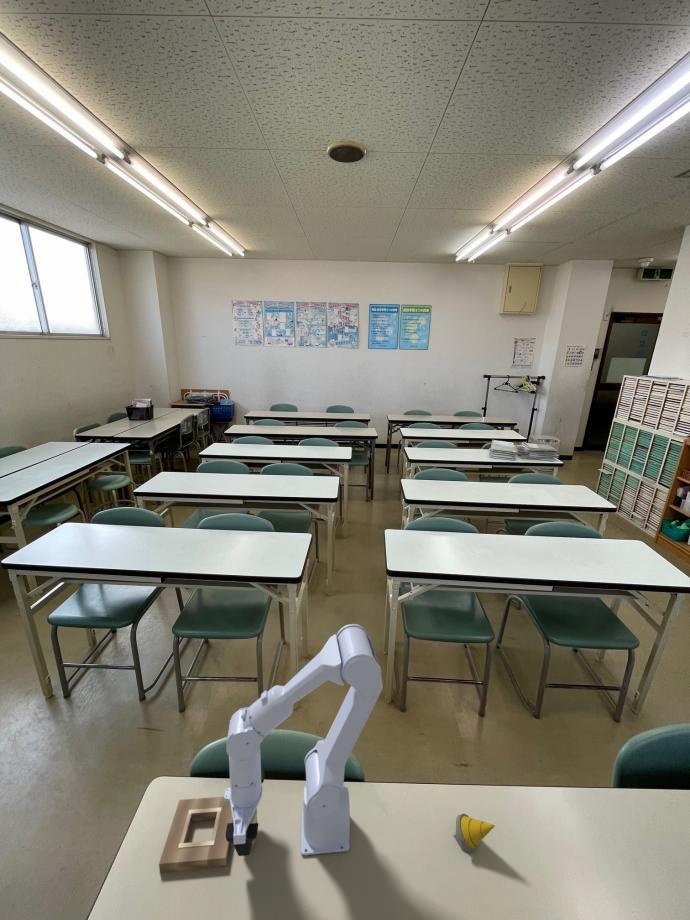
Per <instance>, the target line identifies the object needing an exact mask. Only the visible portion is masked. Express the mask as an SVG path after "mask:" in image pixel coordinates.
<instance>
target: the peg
mask: <svg viewBox="0 0 690 920" xmlns="http://www.w3.org/2000/svg"><path fill="white" fill-rule="evenodd" d="M252 823H258V807H257V808H256V810H255V813H254V815H253V817H252V819H251V821H250V824H252ZM256 838H257V837H256ZM256 838H255V839H254V840H253V842H252V846H251V851H252V850H253V849H254V847H255V845H256Z"/></svg>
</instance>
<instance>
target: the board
mask: <svg viewBox="0 0 690 920" xmlns="http://www.w3.org/2000/svg"><path fill="white" fill-rule="evenodd" d="M203 820H205V821H214V820H215V821H214V826H213V829H212V830H213V831H212V834H211V838H210V840H207V841H193V842H188V838H189V834H190V831H191V827H192V823H193V822H203ZM228 823H233V818H232V812H231V805H230V802H229V801H225V800H224V796H217V797H216V796H213V797H201V798H200V797H199V798H187V799H179V800H178V804H177V807H176V810H175V812H174V815H173V819H172V822H171V826H170V828H169V831H168V835H167V837H166V841H165V844H164V846H163V849H162V853H161V857H160V859H159V861H158V862H159V863H158V868H159V873H165V872H167V873H168V872H177V871H178V872H179V871H187V870H188V871H190V870H200V869H210V868H211V869H212V868H221V867H227V862H228V855H229V851H230V846H231V843H230V842H228V841H227V840H226V829H227V824H228Z"/></svg>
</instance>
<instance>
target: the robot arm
mask: <svg viewBox="0 0 690 920" xmlns="http://www.w3.org/2000/svg"><path fill="white" fill-rule="evenodd" d="M382 677H383V676H382V668H381V665H380V663H379V660H378V658H377V654H376V651H375V648H374V646H373V642H372V639H371V637H370V636H369V634H368V633H367V630H366V629H365V628H364V627H363V625H360V624H356V623H350V624H346V625H344V626H342V627H341V628H340V629H339V630H338V632H337V633H335V634H333V635H331V636H330V637H329V638H328V640H327V642H326V643H325V644H324V646H323V647H322V649H321V650H320V651H319V652H318V653H317V655H315V656H314V657H313V658H312V659H311V660H310V661H309V662H307V664H306V665H305V666H304V667H302V669H301V670H299V672H298V673H297V674H295V675H294V676H293V677H292V678H291V679H290V680H289V681H288V682H287V683H286V684H285V685H278V684H277V685H276V684H275V685H274V686H272V687H271V688H270V689H269V690H268V691H267V690H264V691H263V692H262V693H260V697H259V698H258V699H257V700H255V701H254V702H253V703H252V704H251V705H249V706H246V707H242V708H239V709H238V710H237V711H235V712H234V713H233V714H232V716H231V718H230V719H229V725H228V732H227V738H226V744H225V745H226V749H225V750H226V754H227V755H228V765H229V766H228V767H229V784H230V787H227V788H226V789H225V791H224V795H223V797H224V800H225V801H229V802H230V805H231V812H232V818H233V823H228V824H227V829H226V840H227V841H228V842H230V845H233V847H234V849H235V851H236V852H235V853H237V856H238V857H242V856H243V857H245V856H249V855H250V854H251V851H252V850H251V846H252V842H253V840H254V839H255V838H257V835H258V832H259V831H258V830H259V822H257V823H252V824H250V821H251V819H252V817H253V815H254V813H255V810H256V808H257V809H258V806H259V804H260V801H261V799H262V797H263V783H264V781H265V775H266V774H265V769H263V768H262V766H261V763H262V762H261V761H262V760H261V759H262V757H261V755H262V754H261V744H262V742H264V738H265V737H266V736H267V735H269V734H270V733H271V732H273V731H274V730H276V729H277V728H278V726H280V725H281V724H282V723H283V722H284V721H285V720H287V719H288V718H289V717H291V716H292V714H293V711H294V704H295V703H297V702H299V701H300V700H301V699H303V698H304V697H306V696H307V695H308V694H310V693H311V692H312V691H315V689H317V688H318V687H320V686H321V685H322V684H324V683H326V682H327V681H330V682H331V683H334V684H337V685H339V686H340V687H344V686H345V682H346V683H347V684H348V685H350V687H349V689H348V691H347V693H346V695H345V698H344V700H343V701H342V703H341V705H340V707H339V710H338V712H337V714H336V715H335V718H334V720H333V722H332V724H331V727H330V728H329V730H328V733H327V735H326V737H325V739H323V740H322V739H321V740H317V742H316V744H315V746H314V747H313V748H312V749H311V750H309V752H307V754H306V755H305V757H304V768H305V780H306V783H305V785H304V788H303V796H302V797H303V799H302V807H303V808H302V809H301V823H300V824H301V826H300V827H301V831H300V833H301V835H300V854H301V855H302V856H309V855H318V854H330V853H341V852H348V851H350V848H351V846H350V832H351V831H350V827H351V811H350V810H351V809H350V794H349V793H350V791H349V787H348V786H346V785H344V782H345V781H344V780H345V768H346V763H347V761H348V759H349V757H350V755H351V753H352V751H353V749H354V747H355V745H356V744H357V741H358V739H359V737H360V735H361V733H362V731H363V729H364V727H365V725H366V723H367V721H368V719H369V717H370V715H371V713H372V711H373V709H374V706H375V704H376V703H377V701H378V699H379V697H380V695H381V693H382V691H383V688H384V687H383V686H384V684H383V678H382Z"/></svg>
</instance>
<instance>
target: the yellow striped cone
mask: <svg viewBox="0 0 690 920" xmlns="http://www.w3.org/2000/svg"><path fill="white" fill-rule="evenodd" d="M495 827H496V825H495V824H492V823H489V822H485V821H482V820H479V819H475V818H473V817H470V816H469V815H468V814H466V813H461V814H458V815H457V817H456V820H455V834H453V837H454V839H455V841H456V842H457V844H458V846H459V848H460V850H461V851H465V852H468V853H471V852H474V851H476V850H477V848H478V845H479V844H480V842H481V841H483V839H484V838H485V837H486V836H488V834H489V833H490V832H491V831H492V830H493V829H494V828H495Z"/></svg>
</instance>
